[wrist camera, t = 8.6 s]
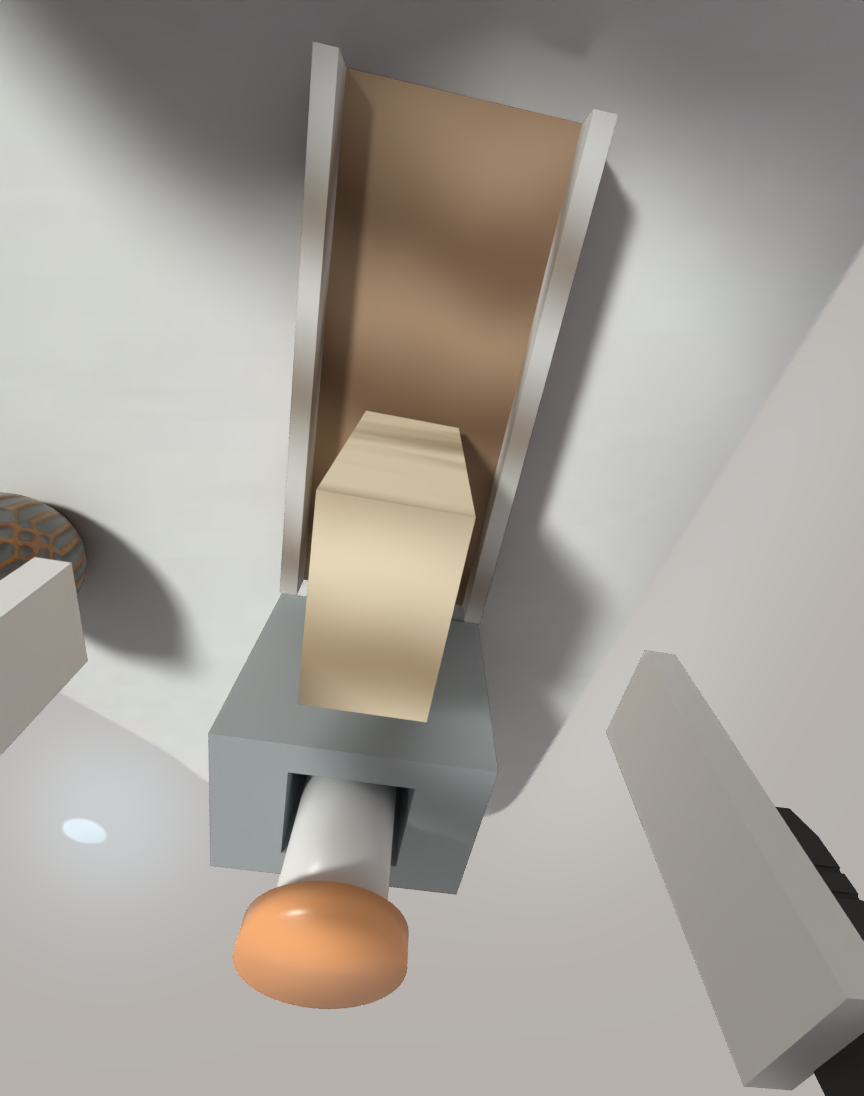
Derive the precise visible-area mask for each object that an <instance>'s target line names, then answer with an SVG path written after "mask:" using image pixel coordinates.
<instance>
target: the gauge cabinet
mask: <svg viewBox="0 0 864 1096" xmlns="http://www.w3.org/2000/svg"><path fill="white" fill-rule="evenodd" d="M306 600H307V597H303V596H297V595H290V594H284V593H282V594H281V596H280V598H279V600H278V602H277V604H276V605H275V607H274V609H273V611H272V613H271V615H270V617H269V619H268V621H267V623H266V624H265V626H264V628H263V630H262V632H261V634H260V636H259V638H258V640H257V642H256V644H255V645H254V647H253V649H252V651H251V653H250V655H249V657H248V659H247V661H246V663H245V665H244V666H243V668H242V670H241V672H240V674H239V676H238V678H237V680H236V682H235V684H234V686H233V687H232V689H231V691H230V693H229V695H228V697H227V699H226V701H225V703H224V705H223V707H222V708H221V710H220V712H219V714H218V716H217V718H216V720H215V722H214V724H213V726H212V728H211V729H210V731H209V733H208V743H209V813H210V814H209V816H210V866H215V867H223V868H233V869H240V870H250V871H258V872H267V873H275V874H281V870H282V867H283V863H284V859H285V856H286V852H287V848H288V844H289V841H290V837H291V833H292V830H293V826H294V822H295V818H296V815H297V811H298V807H299V804H300V800H301V796H302V792H303V789H304V785H305V781H306V778H307V775H312V776H320V777H327V778H335V779H343V780H350V781H358V782H366V783H373V784H381V785H389V786H396V787H397V788H396V801H395V814H394V826H393V839H392V852H391V864H390V877H389V887H397V888H405V889H414V890H423V891H430V892H440V893H448V894H457V891H458V888H459V885H460V882H461V879H462V877H463V874H464V871H465V868H466V865H467V861H468V859H469V856H470V853H471V850H472V848H473V844H474V842H475V839H476V836H477V832H478V830H479V827H480V824H481V821H482V818H483V815H484V813H485V810H486V807H487V804H488V801H489V798H490V795H491V792H492V789H493V786H494V783H495V781H496V778H497V775H498V767H497V760H496V753H495V745H494V738H493V730H492V723H491V715H490V708H489V701H488V693H487V686H486V678H485V671H484V663H483V656H482V648H481V641H480V634H479V626H478V624H475V623H468V622H462V621H456V620H451V622H450V627H449V631H448V635H447V639H446V643H445V647H444V652H443V656H442V660H441V664H440V668H439V672H438V677H437V681H436V685H435V689H434V693H433V697H432V702H431V706H430V710H429V714H428V718H427V722H420V721H413V720H406V719H399V718H392V717H385V716H378V715H371V714H363V713H356V712H349V711H342V710H335V709H328V708H321V707H314V706H307V705H300V704H297V703H298V691H299V680H300V669H301V657H302V646H303V635H304V623H305V612H306Z"/></svg>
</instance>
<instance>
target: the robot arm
mask: <svg viewBox="0 0 864 1096" xmlns="http://www.w3.org/2000/svg"><path fill="white" fill-rule="evenodd" d="M87 661H88V659H87V653H86V647H85V641H84V635H83V629H82V623H81V617H80V611H79V605H78V599H77V593H76V587H75V581H74V574H73V568H72V563H70V562H63V561H57V560H50V559H44V558H37V557H34V558H33V559H31V560H30V561H28V562H27V563H25V564H24V565H22V566H21V567H19V568H18V569H16V570H15V571H14V572H12V573H11V574H9V575H8V576H6V577H5V578H3V579H2V580H0V755H1V754H2V753H3V752H4V751H5V750H6V749H7V748H8V747H9V746H10V745H11V744H12V742H13V741H14V740H15V739H16V738H17V737H18V736H19V735H20V734H21V733H22V732H23V730H24V729H25V728H26V727H27V726H28V725H29V724H30V723H31V722H32V721H33V720H34V719H35V717H36V716H37V715H38V714H39V713H40V712H41V711H42V710H43V709H44V708H45V707H46V706H47V704H48V703H49V702H50V701H51V700H52V699H53V698H54V697H55V696H56V695H57V694H58V693H59V691H60V690H61V689H62V688H63V687H64V686H65V685H66V684H67V683H68V682H69V681H70V679H71V678H72V677H73V676H74V675H75V674H76V673H77V672H78V671H79V670H80V669H81V668H82V666H83V665H84V664H85V663H86V662H87ZM606 733H607V736H608V739H609V741H610V743H611V746H612V749H613V751H614V753H615V756H616V759H617V762H618V764H619V767H620V769H621V772H622V775H623V777H624V780H625V782H626V785H627V787H628V790H629V793H630V795H631V798H632V800H633V803H634V805H635V808H636V811H637V813H638V816H639V818H640V821H641V823H642V826H643V829H644V831H645V834H646V836H647V839H648V841H649V844H650V847H651V849H652V852H653V854H654V857H655V860H656V862H657V865H658V867H659V869H660V872H661V875H662V878H663V880H664V882H665V885H666V888H667V890H668V893H669V896H670V898H671V901H672V903H673V906H674V908H675V911H676V914H677V916H678V918H679V921H680V924H681V926H682V929H683V932H684V934H685V937H686V939H687V942H688V944H689V947H690V950H691V952H692V955H693V957H694V960H695V962H696V965H697V968H698V970H699V973H700V975H701V978H702V980H703V983H704V986H705V988H706V991H707V993H708V996H709V999H710V1001H711V1004H712V1006H713V1009H714V1011H715V1014H716V1017H717V1019H718V1022H719V1024H720V1027H721V1029H722V1032H723V1035H724V1037H725V1040H726V1042H727V1045H728V1047H729V1050H730V1053H731V1055H732V1057H733V1060H734V1062H735V1065H736V1068H737V1071H738V1073H739V1076H740V1078H741V1081H742V1083H743V1086H744V1087H757V1088H769V1089H782V1090H793V1089H794V1088H796V1087H797V1086H798V1085H799V1084H801V1083H802V1082H803V1081H805V1080H806V1079H807V1078H808V1077H810V1076H811V1075H813V1074H815V1076H816V1078H817V1080H818V1082H819V1084H820V1086H821V1088H822V1090H823V1092H824V1094H825V1096H864V901H861V900H859V898H858V893H857V892H856V890H855V888H854V887H853V886H852V884H851V883H850V881H849V880H848V878H847V877H846V876H845V874H842V873H841V872H840V870H839V869H840V867H839V866H838V864H837V863H836V861H835V860H834V858H833V857H832V856H831V854H830V853H829V851H828V850H827V848H826V847H825V846H824V844H823V843H822V841H821V840H820V839H819V837H818V836H817V835H816V834H815V833H814V832H813V831H812V830H811V829H810V828H809V827H808V826H807V825H806V824H805V823H804V822H803V821H802V820H801V819H800V818H799V817H798V816H797V815H796V814H794V813H793V812H792V811H791V810H790V809H788V808H780V807H775V806H774V804H773V803H772V801H771V800H770V798H769V797H768V795H767V794H766V792H765V791H764V789H763V788H762V786H761V785H760V783H759V782H758V780H757V778H756V777H755V775H754V774H753V773H752V771H751V769H750V768H749V766H748V765H747V763H746V762H745V760H744V759H743V757H742V756H741V754H740V753H739V751H738V750H737V748H736V747H735V745H734V743H733V742H732V741H731V739H730V737H729V736H728V735H727V733H726V731H725V730H724V728H723V727H722V725H721V724H720V722H719V721H718V719H717V718H716V716H715V715H714V713H713V712H712V710H711V708H710V707H709V705H708V704H707V702H706V701H705V700H704V698H703V696H702V695H701V693H700V692H699V690H698V689H697V687H696V686H695V684H694V683H693V681H692V680H691V678H690V677H689V675H688V674H687V672H686V670H685V669H684V668H683V666H682V664H681V663H680V661H679V660H678V658H677V657H676V656H675V655H673V654H667V653H660V652H653V651H646V650H645V651H644V653H643V655H642V657H641V659H640V662H639V664H638V666H637V668H636V670H635V672H634V674H633V676H632V678H631V681H630V683H629V685H628V687H627V689H626V691H625V693H624V695H623V698H622V700H621V702H620V704H619V706H618V708H617V710H616V712H615V714H614V716H613V719H612V720H611V723H610V725H609V727H608V729H607V731H606Z"/></svg>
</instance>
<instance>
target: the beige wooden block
mask: <svg viewBox="0 0 864 1096" xmlns="http://www.w3.org/2000/svg"><path fill="white" fill-rule="evenodd" d="M475 518H476V517H475V511H474V506H473V501H472V495H471V490H470V485H469V480H468V474H467V469H466V464H465V458H464V453H463V448H462V443H461V437H460V432H459V428H456V427H451V426H446V425H440V424H435V423H430V422H424V421H419V420H413V419H408V418H403V417H397V416H392V415H387V414H381V413H376V412H371V411H366V412H365V413H364V415H363V416H362V418H361V420H360V421H359V423H358V424H357V426H356V427H355V429H354V431H353V432H352V434H351V435H350V437H349V439H348V440H347V442H346V443H345V445H344V447H343V448H342V450H341V451H340V453H339V455H338V456H337V458H336V459H335V461H334V462H333V464H332V466H331V467H330V469H329V470H328V472H327V474H326V475H325V477H324V478H323V480H322V482H321V483H320V485H319V486H318V488H317V489H316V498H315V510H314V521H313V532H312V544H311V555H310V566H309V578H308V589H307V600H306V612H305V623H304V635H303V646H302V657H301V669H300V680H299V691H298V703H297V704H300V705H307V706H314V707H321V708H328V709H335V710H342V711H349V712H356V713H363V714H371V715H378V716H385V717H392V718H399V719H406V720H413V721H420V722H427V718H428V714H429V710H430V706H431V702H432V697H433V693H434V689H435V685H436V681H437V677H438V672H439V668H440V664H441V660H442V656H443V652H444V647H445V643H446V639H447V635H448V631H449V627H450V622H451V618H452V614H453V610H454V606H455V602H456V597H457V593H458V589H459V585H460V581H461V577H462V572H463V568H464V564H465V560H466V556H467V552H468V548H469V543H470V539H471V535H472V531H473V527H474V523H475Z"/></svg>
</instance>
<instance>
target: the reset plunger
mask: <svg viewBox="0 0 864 1096" xmlns="http://www.w3.org/2000/svg"><path fill="white" fill-rule="evenodd" d="M396 788H397V787H396V786H389V785H381V784H373V783H366V782H358V781H350V780H343V779H335V778H327V777H320V776H312V775H307V778H306V781H305V785H304V789H303V792H302V796H301V800H300V804H299V807H298V811H297V815H296V818H295V822H294V826H293V830H292V833H291V837H290V841H289V844H288V848H287V852H286V856H285V859H284V863H283V867H282V870H281V874H280V878H279V881H278V885H277V888H274V889H272V890H269V891H268V892H266V893H264V894H262V895H261V896H259V897H258V898H257V899H255V900H254V901H253V902H252V903H251V904H250V906H249V907H248V909H247V910H246V913H245V915H244V918H243V922H242V925H241V928H240V931H239V935H238V938H237V941H236V944H235V947H234V950H233V964H234V966H235V969H236V971H237V972H238V974H239V976H240V977H241V978H242V979H243V980H244V981H245V982H246V983H247V984H248V985H250V986H251V987H252V988H254V989H255V990H257V991H258V992H260V993H262V994H264V995H266V996H268V997H271V998H273V999H275V1000H278V1001H281V1002H284V1003H288V1004H292V1005H297V1006H302V1007H309V1008H319V1009H339V1008H349V1007H356V1006H361V1005H365V1004H368V1003H371V1002H374V1001H376V1000H379V999H382V998H383V997H385V996H387V995H389V994H390V993H392V992H393V991H394V990H396V989H397V988H398V987H399V985H400V984H401V983H402V982H403V980H404V978H405V976H406V972H407V957H408V926H407V922H406V920H405V918H404V916H403V915H402V913H401V912H400V911H399V910H398V909H397V908H396V907H395V906H394V905H393V904H392V903H391V902H389V901H388V890H389V877H390V864H391V852H392V839H393V826H394V814H395V801H396Z"/></svg>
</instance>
